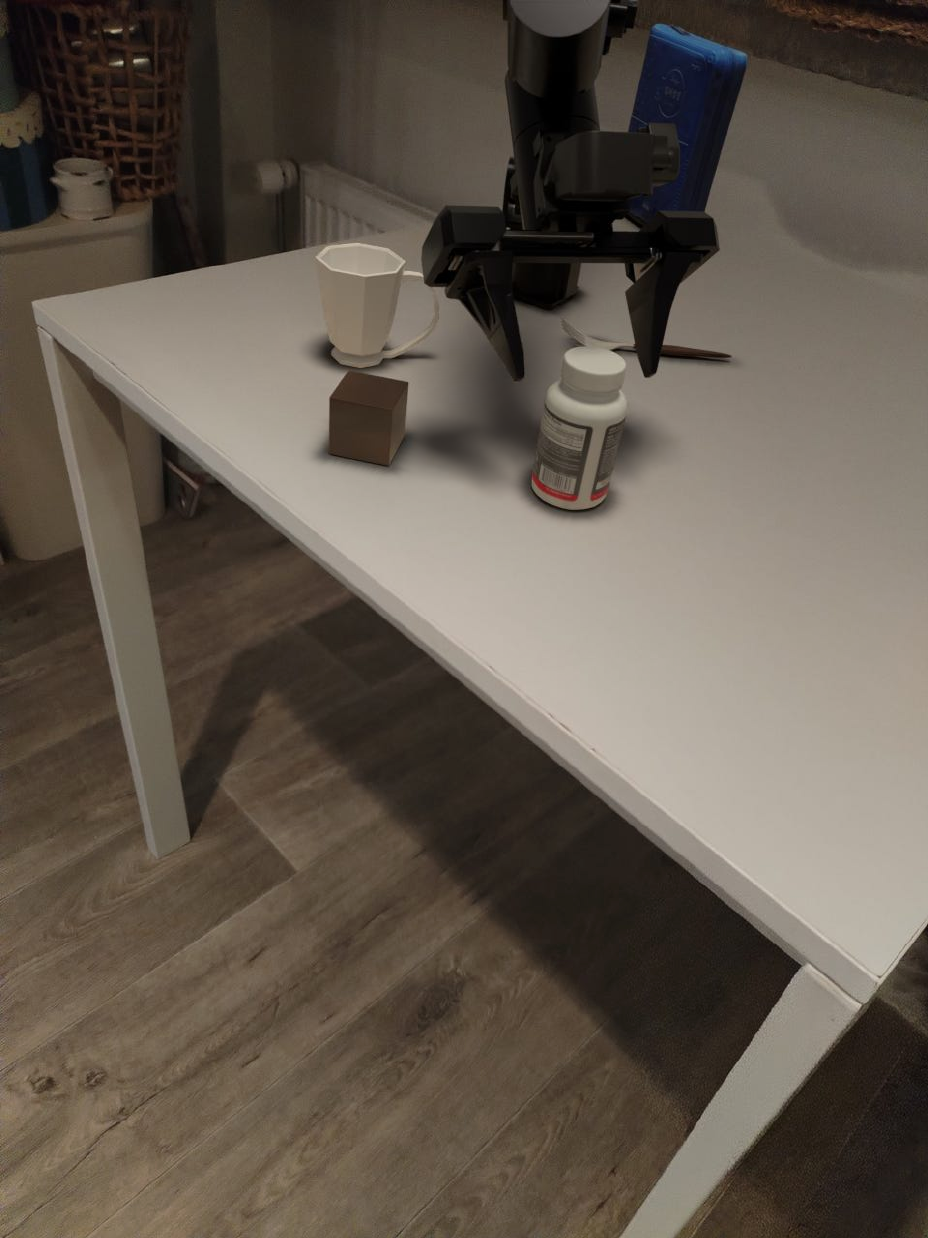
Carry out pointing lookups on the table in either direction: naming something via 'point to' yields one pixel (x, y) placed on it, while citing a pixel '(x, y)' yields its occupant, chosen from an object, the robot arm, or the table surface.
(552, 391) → the pill bottle
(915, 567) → the table surface
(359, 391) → the walnut block
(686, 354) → the fork
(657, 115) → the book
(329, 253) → the cup
